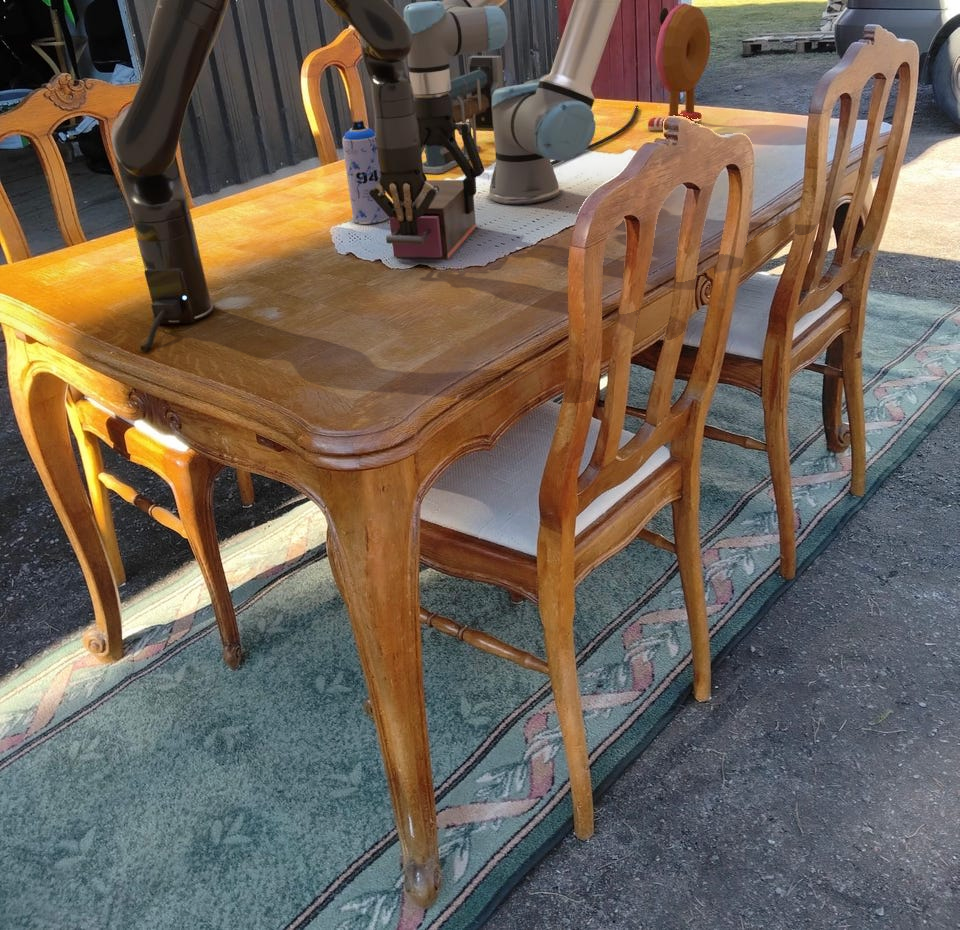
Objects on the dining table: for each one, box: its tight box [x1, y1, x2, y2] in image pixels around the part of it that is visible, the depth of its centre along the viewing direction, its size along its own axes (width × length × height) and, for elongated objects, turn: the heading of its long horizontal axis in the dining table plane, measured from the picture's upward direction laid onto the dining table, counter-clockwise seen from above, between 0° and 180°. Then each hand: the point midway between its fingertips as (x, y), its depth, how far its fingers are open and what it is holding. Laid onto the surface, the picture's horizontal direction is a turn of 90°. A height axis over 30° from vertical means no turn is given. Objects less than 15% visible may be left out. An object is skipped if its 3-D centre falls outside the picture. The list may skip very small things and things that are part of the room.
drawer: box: [385, 214, 442, 258], centre depth 182 cm, size 24×9×7 cm, turn 164°
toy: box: [647, 2, 711, 131], centre depth 254 cm, size 21×10×30 cm, turn 141°
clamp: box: [422, 55, 504, 175], centre depth 244 cm, size 35×9×21 cm, turn 151°
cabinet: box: [395, 179, 477, 260], centre depth 187 cm, size 19×10×10 cm, turn 164°
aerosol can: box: [342, 120, 390, 225], centre depth 201 cm, size 8×8×20 cm
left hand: (409, 239), depth 175 cm, fingers closed
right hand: (442, 211), depth 191 cm, fingers closed on cabinet, 10 cm apart
